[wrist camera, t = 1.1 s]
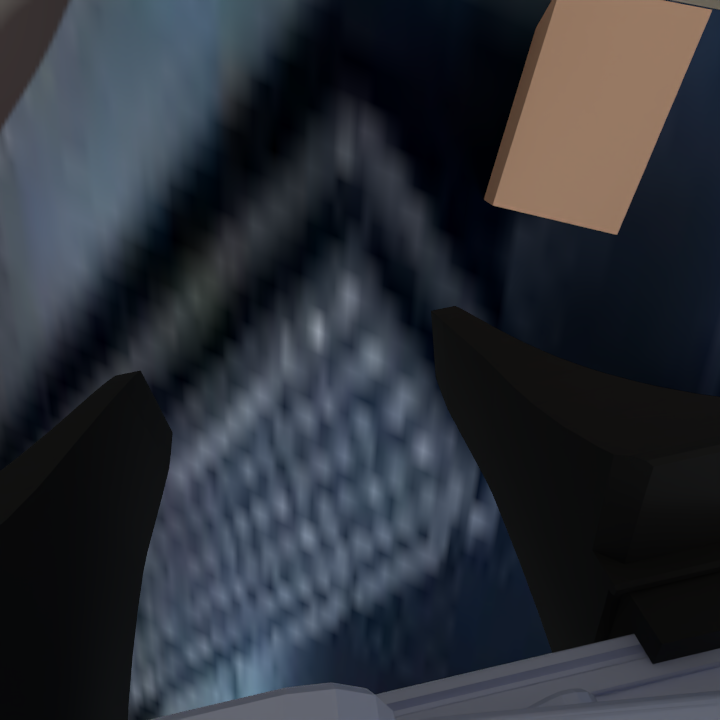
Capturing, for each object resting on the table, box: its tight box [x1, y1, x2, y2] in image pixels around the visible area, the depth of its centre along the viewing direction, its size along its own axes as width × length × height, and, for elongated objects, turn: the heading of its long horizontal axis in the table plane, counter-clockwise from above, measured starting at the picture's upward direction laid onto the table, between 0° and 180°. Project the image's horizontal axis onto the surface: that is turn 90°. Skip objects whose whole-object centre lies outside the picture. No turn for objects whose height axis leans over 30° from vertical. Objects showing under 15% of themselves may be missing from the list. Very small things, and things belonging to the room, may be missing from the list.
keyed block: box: [484, 0, 712, 235], centre depth 16 cm, size 4×6×4 cm, turn 168°
